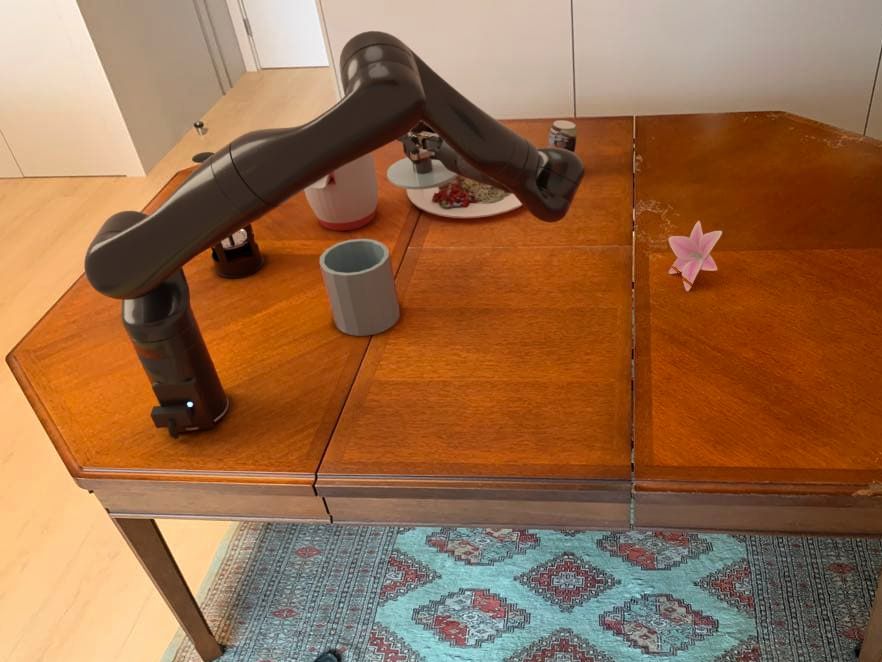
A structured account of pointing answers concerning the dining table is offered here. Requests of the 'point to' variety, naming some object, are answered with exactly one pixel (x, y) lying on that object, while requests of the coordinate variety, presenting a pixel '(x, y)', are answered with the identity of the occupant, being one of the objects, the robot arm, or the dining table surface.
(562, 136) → the beverage can
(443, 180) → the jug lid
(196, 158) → the french press
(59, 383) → the dining table surface
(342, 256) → the grey cup
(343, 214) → the citrus juicer
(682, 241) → the lily
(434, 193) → the plated food
